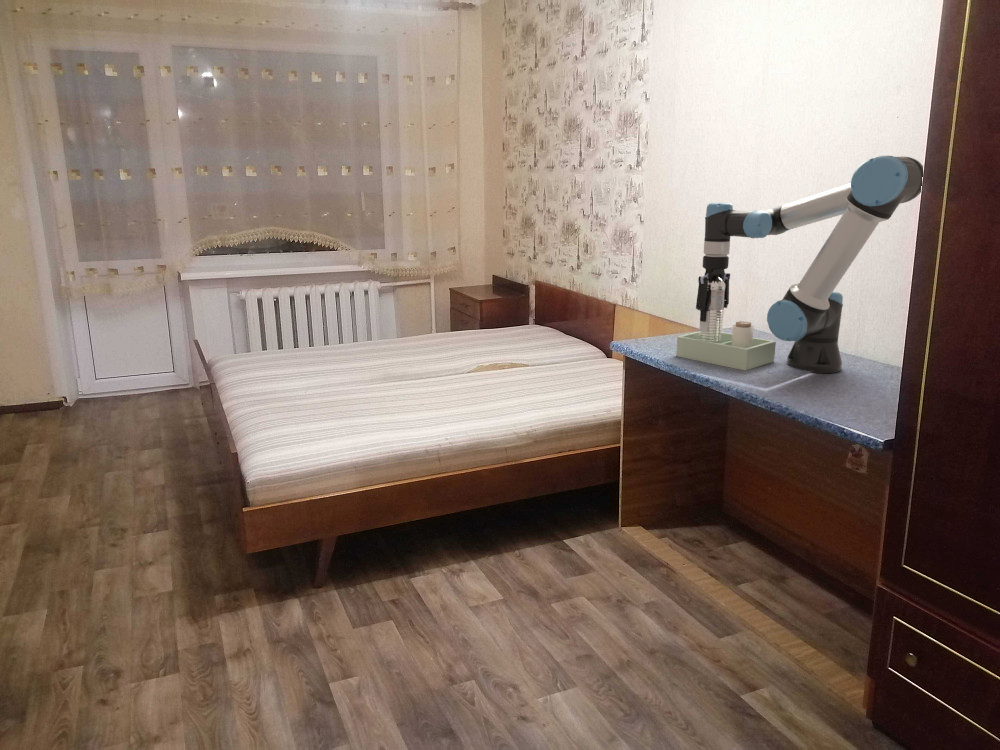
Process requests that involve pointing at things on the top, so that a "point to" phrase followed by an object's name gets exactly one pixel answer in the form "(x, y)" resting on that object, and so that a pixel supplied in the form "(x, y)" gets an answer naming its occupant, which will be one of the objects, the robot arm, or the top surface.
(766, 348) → the tote
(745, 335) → the jar
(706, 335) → the water bottle
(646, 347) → the top surface
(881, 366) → the top surface
